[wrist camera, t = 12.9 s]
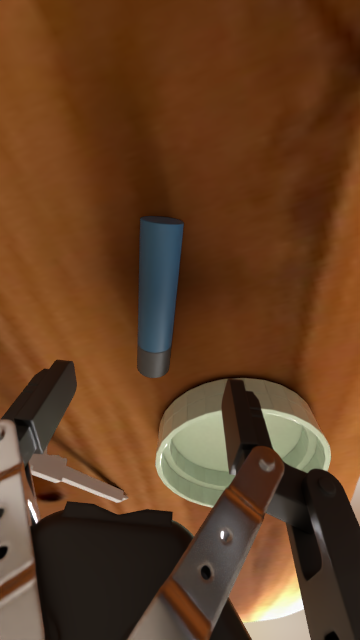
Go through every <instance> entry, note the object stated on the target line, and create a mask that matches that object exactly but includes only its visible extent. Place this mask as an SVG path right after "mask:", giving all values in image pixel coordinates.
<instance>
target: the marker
mask: <svg viewBox="0 0 360 640" xmlns="http://www.w3.org/2000/svg"><path fill="white" fill-rule="evenodd" d="M183 227H184V222H183V221H181V220H178V219H174V218H169V217H159V216H145V217H141V218H140V253H139V304H138V355H137V368H138V371H139V372H140V373H141V374H142V375H144V376H146V377H150V378H157V377H161V376H163V375H165V374H166V373H167V372H168V370H169V365H170V355H171V345H172V335H173V325H174V316H175V306H176V296H177V286H178V276H179V266H180V256H181V246H182V236H183Z"/></svg>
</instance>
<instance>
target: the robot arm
mask: <svg viewBox="0 0 360 640" xmlns="http://www.w3.org/2000/svg"><path fill="white" fill-rule="evenodd" d="M76 386H77V382H76V375H75V369H74V363H73V362H72V361H65V360H56V361H55V362H54V363H53V365H52V366H51V367H50V369H43V370H42V371H40V372H39V373H38V374H36V375H35V376H34V377H33V378H32V380H31V381H30V382H29V383H28V385H27V386H26V387H25V389H24V390H23V392H22V393H21V394H20V395H19V396H18V398H17V399H16V400H15V402H14V403H13V404H12V405H11V407H10V408H9V409H8V411H7V412H6V413H5V414H4V416H3V417H2V418H1V419H0V640H252V639H251V637H250V635H249V634H248V632H247V630H246V628H245V626H244V624H243V622H242V621H241V619H240V617H239V615H238V613H237V612H236V610H235V608H234V606H233V604H232V603H231V601H230V599H229V597H228V596H229V594H230V592H231V590H232V587H233V585H234V583H235V581H236V579H237V577H238V574H239V572H240V570H241V568H242V566H243V563H244V561H245V559H246V557H247V555H248V553H249V550H250V548H251V546H252V544H253V542H254V539H255V537H256V535H257V533H258V531H259V529H260V526H261V524H262V522H263V519H264V515H265V513H267V514H269V515H271V516H273V517H276V518H278V519H280V520H282V521H284V522H286V526H287V531H288V535H289V540H290V545H291V549H292V554H293V559H294V563H295V568H296V573H297V577H298V582H299V587H300V591H301V596H302V601H303V605H304V610H305V615H306V619H307V624H308V629H309V633H310V637H311V640H360V526H359V524H358V521H357V519H356V517H355V514H354V512H353V510H352V507H351V505H350V502H349V500H348V498H347V495H346V493H345V491H344V488H343V486H342V485H341V483H340V482H339V481H338V480H337V479H336V478H335V477H334V476H333V475H332V474H330V473H329V472H327V471H325V470H322V469H317V468H315V469H311V470H310V471H309V472H308V473H306V472H304V471H301V470H299V469H297V468H294V467H292V466H290V465H288V464H286V463H285V462H284V461H283V460H282V459H281V457H280V456H279V454H278V453H277V452H275V451H274V449H273V447H272V444H271V440H270V437H269V433H268V430H267V426H266V423H265V419H264V416H263V412H262V411H261V405H260V402H259V399H258V398H257V397H256V395H255V394H254V393H253V391H246V389H245V385H244V381H243V380H239V379H229V378H228V380H227V383H226V387H225V390H224V394H223V398H222V405H221V409H222V419H223V427H224V435H225V444H226V452H227V461H228V469H229V474H230V475H235V477H234V479H233V480H232V482H231V483H230V485H229V486H228V487H226V488H225V490H224V491H223V493H222V494H221V496H220V497H219V499H218V500H217V502H216V504H215V505H214V507H213V508H212V510H211V511H210V513H209V515H208V516H207V518H206V519H205V521H204V522H203V524H202V525H201V527H200V529H199V530H198V532H197V533H196V535H195V536H193V535H192V534H191V533H190V532H189V531H188V530H187V529H186V528H185V527H184V526H182V525H181V524H179V523H177V522H175V521H173V520H172V513H173V512H169V511H159V510H149V509H146V510H141V511H136V512H131V513H126V514H121V515H117V514H115V513H112V512H110V511H108V510H106V509H103V508H101V507H99V506H97V505H94V504H88V503H78V502H68V501H67V504H66V506H65V509H64V510H62V511H58V512H56V513H53V514H51V515H49V516H46V517H45V518H43V519H41V516H40V512H39V509H38V505H37V501H36V495H35V490H34V485H33V479H32V474H31V469H30V464H29V461H30V459H31V457H32V455H33V454H42V455H43V453H44V451H45V449H46V447H47V445H48V443H49V441H50V439H51V438H52V436H53V434H54V432H55V430H56V428H57V426H58V424H59V422H60V421H61V419H62V417H63V415H64V413H65V411H66V409H67V407H68V406H69V404H70V402H71V400H72V398H73V396H74V394H75V391H76Z"/></svg>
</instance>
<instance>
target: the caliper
mask: <svg viewBox="0 0 360 640" xmlns="http://www.w3.org/2000/svg"><path fill="white" fill-rule="evenodd" d="M66 463H67V459H66V458H61V457H60V456H59V455H51V456H50V455H48V454H47V447H46V449H45V451H44V453H43V455H42V454H33V455H32V457H31V459H30V461H29V464H30V469H31V474H32V475H35V476H38V477H41V478H43V479H46V480H49V481H52V482H55V483H57V482H60V481H63V482H65V483H68V484H70V485H73V486H75V487H78V488H81V489H83V490H86V491H88V492H91V493H93V494H96V495H98V496H101V497H104V498H106V499H109V500H112V501H114V502H117V503H118V502H122V500H126V499H128V496H126V495H123V490H120V489H118V488H116V487H113V486H111V485H109V484H106V483H104V482H102V481H99V480H97V479H95V478H92V477H90V476H88V475H86V474H83V473H81V472H79V471H77V470H74V469H72V468H70V467H68V466H66Z"/></svg>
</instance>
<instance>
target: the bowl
mask: <svg viewBox="0 0 360 640" xmlns="http://www.w3.org/2000/svg"><path fill="white" fill-rule="evenodd" d="M233 379H239V380H243V381H244V385H245V389H246V391H253V393H254V394H255V395H256V397H257V398H258V399H259V402H260V405H261V411H262V412H263V416H264V419H265V423H266V426H267V430H268V433H269V437H270V440H271V444H272V447H273V449H274V451H275V452H277V453H278V454H279V456H280V457H281V459H282V460H283V461H284V462H285V463H286V464H288V465H290V466H292V467H294V468H297V469H299V470H301V471H304V472H306V473H308V472H309V471H310V470H311V469H315V468H317V469H322V470H325V471H328V468H329V464H330V461H331V452H330V446H329V444H328V442H327V440H326V438H325V436H324V434H323V432H322V430H321V428H320V426H319V424H318V422H317V420H316V418H315V416H314V415H313V413H312V411H311V409H310V407H309V406H308V404H307V403H306V402H305V401H304V400H303V399H302V398H301V397H300V396H299V395H298V394H297V393H295V392H293V391H291V390H290V389H288V388H286V387H284V386H282V385H280V384H276V383H273V382H269V381H266V380H260V379H250V378H233ZM227 380H228V379H224V380H223V379H222V380H217V381H213V382H209V383H205V384H203V385H200V386H198V387H196V388H193V389H191V390H189V391H187V392H186V393H184V394H183V395H182V396H180V397H179V398H177V399H176V400H175V401H174V402H173V403H172V404H171V405H170V406H169V408H168V409H167V410H166V411H165V413H164V415H163V417H162V419H161V422H160V428H159V436H158V444H157V452H156V462H155V465H156V468H157V472H158V475H159V477H160V478H161V480H162V481H163V482H164V484H165V485H166V486H167V487H168V488H169V489H171V490H172V491H173V492H174V493H175V494H177V495H179V496H181V497H183V498H184V499H186V500H188V501H191V502H194V503H197V504H200V505H203V506H207V507H212V508H213V507H214V505H215V504H216V502H217V500H218V499H219V497H220V496H221V494H222V493H223V491H224V490H225V488H226V487H228V486H229V485H230V483H231V482H232V480H233V479H234V477H235V475H230V474H229V469H228V461H227V452H226V444H225V435H224V427H223V419H222V409H221V405H222V398H223V394H224V390H225V387H226V383H227Z"/></svg>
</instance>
